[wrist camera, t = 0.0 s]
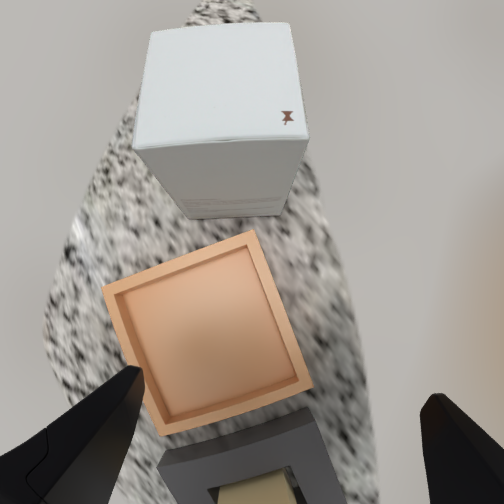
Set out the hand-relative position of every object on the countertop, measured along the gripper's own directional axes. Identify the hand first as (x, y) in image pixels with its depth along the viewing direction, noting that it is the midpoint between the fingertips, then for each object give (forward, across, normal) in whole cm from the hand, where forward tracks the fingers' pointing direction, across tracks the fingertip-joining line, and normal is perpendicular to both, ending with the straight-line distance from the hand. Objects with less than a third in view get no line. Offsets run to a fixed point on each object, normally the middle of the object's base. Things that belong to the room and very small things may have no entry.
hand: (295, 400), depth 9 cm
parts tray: (+12, +4, +8) cm, 15 cm away
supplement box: (+19, +4, -2) cm, 20 cm away
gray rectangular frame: (+6, -1, +18) cm, 19 cm away
